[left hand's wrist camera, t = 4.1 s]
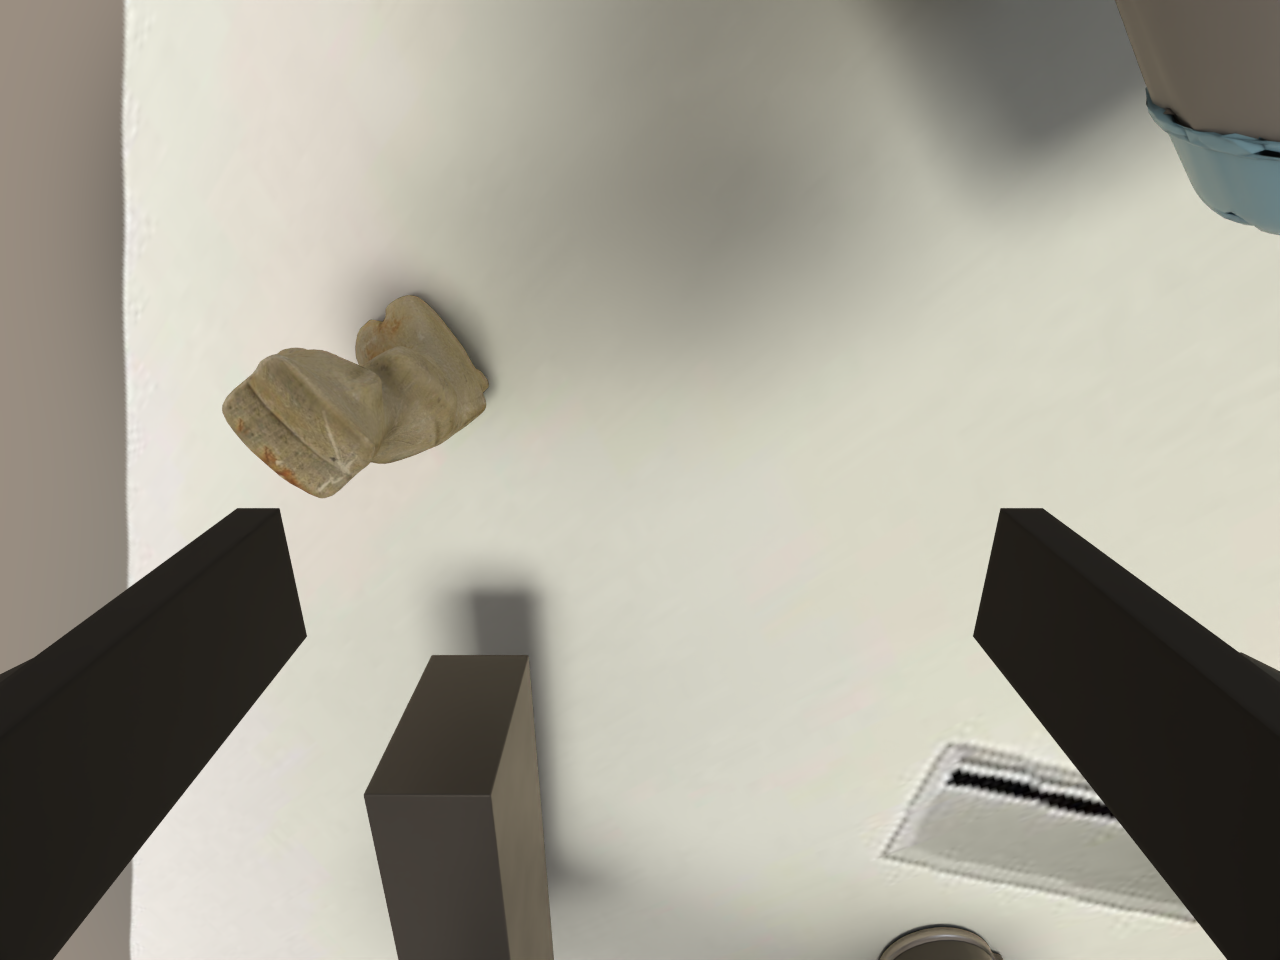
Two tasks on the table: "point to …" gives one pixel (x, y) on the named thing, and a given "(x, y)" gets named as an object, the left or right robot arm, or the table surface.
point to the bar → (464, 816)
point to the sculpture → (358, 400)
